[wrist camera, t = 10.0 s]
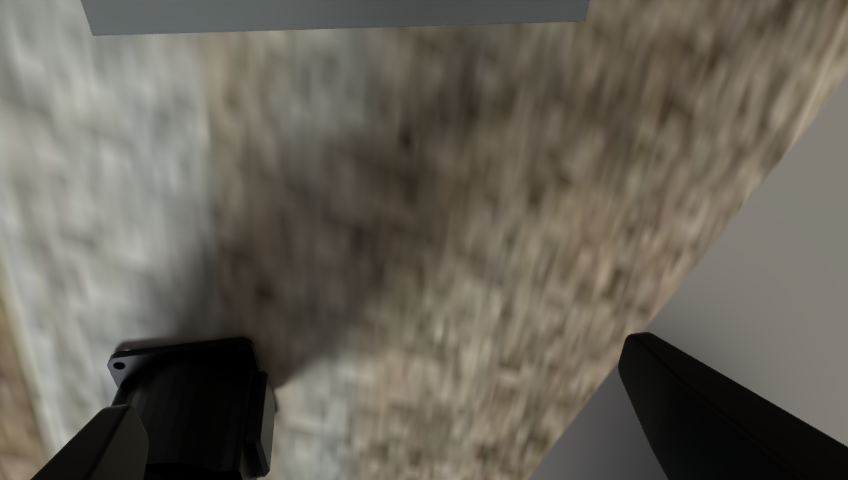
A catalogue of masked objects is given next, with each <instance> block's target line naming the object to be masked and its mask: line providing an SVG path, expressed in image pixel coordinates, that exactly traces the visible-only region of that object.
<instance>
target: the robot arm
mask: <svg viewBox="0 0 848 480" xmlns="http://www.w3.org/2000/svg"><path fill="white" fill-rule="evenodd" d="M239 347H245V349H241V348H239ZM119 362H122V363H119ZM107 365H108V369H109V371H110V373H111V375H112V377H113V379H114V381H115V383H116V385H117V387H118V391H117V393H116V395H115V398H114V400H113V402H112V405H111V406H110V407H106V408H104V409H102V410H101V411H100V412H99V413H98V414H97V415H95V416H94V417H93V418H92V419H91V420H90V421H89V422H88V423H87V424H86V425H85V426H84V427H83V428H82V429H81V430H80V431H79V432H78V433H77V434H76V435H75V436H74V437H73V438H72V439H71V440H70V441H69V442H68V443H67V444H66V445H65V446H64V447H63V448H62V449H61V450H60V451H59V452H58V453H57V454H56V455H55V456H54V457H53V458H52V459H51V460H50V461H49V462H48V463H47V464H46V465H45V466H44V467H43V468H42V469H41V470H40V471H39V472H38V473H37V474H36V475H35V476H34V477H33V478H32V479H31V480H257V478H259V477H265V476H266V475H267V474H268V472H269V471H270V463H271V452H272V440H273V429H274V417H275V401H274V397H273V393H272V389H271V384H270V380H269V376H268V374H267V373H266V372H265V371H260V367H259V363H258V359H257V355H256V351H255V347H254V343H253V341H252V340H250V339H249V338H246V337H240V338H231V339H223V340H215V341H206V342H198V343H189V344H181V345H173V346H164V347H156V348H147V349H139V350H131V351H122V352H117V353H114V354H112V355H111V357H110V360H109V362H108V364H107ZM618 369H619V374H620V378H621V380H622V382H623V385H624V387H625V389H626V392H627V394H628V396H629V399H630V401H631V403H632V405H633V408H634V410H635V412H636V415H637V417H638V420H639V421H640V424H641V426H642V429H643V431H644V433H645V436H646V438H647V440H648V442H649V444H650V446H651V449H652V451H653V452H654V454H655V456H656V458H657V460H658V462H659V464H660V465H661V467H662V469H663V471H664V473H665V474H666V476H667V478H668V480H848V447H847V446H845V445H844V444H842V443H840V442H838V441H837V440H835V439H833V438H832V437H830V436H828V435H826V434H825V433H823V432H821V431H820V430H818V429H816V428H814V427H813V426H811V425H809V424H807V423H806V422H804V421H802V420H801V419H799V418H797V417H795V416H794V415H792V414H790V413H788V412H787V411H785V410H783V409H782V408H780V407H778V406H776V405H775V404H773V403H771V402H769V401H768V400H766V399H764V398H763V397H761V396H759V395H757V394H756V393H754V392H752V391H751V390H749V389H747V388H745V387H744V386H742V385H740V384H738V383H736V382H735V381H733V380H732V379H730V378H728V377H726V376H724V375H723V374H721V373H719V372H718V371H716V370H714V369H713V368H711V367H709V366H707V365H705V364H704V363H702V362H700V361H698V360H697V359H695V358H693V357H692V356H690V355H688V354H686V353H685V352H683V351H681V350H680V349H678V348H676V347H675V346H673V345H671V344H669V343H668V342H666V341H664V340H662V339H661V338H659V337H657V336H656V335H654V334H652V333H649V332H642V333H635V334H630V335H628V336H627V337H626V339H625V342H624V346H623V349H622V353H621V356H620V359H619V363H618Z"/></svg>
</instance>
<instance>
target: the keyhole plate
mask: <svg viewBox="0 0 848 480" xmlns="http://www.w3.org/2000/svg"><path fill="white" fill-rule="evenodd" d="M81 2H82V5H83V8H84V11H85V14H86V17H87V20H88V23H89V26H90V29H91V32H92V35H93V36H101V35H135V34H169V33H203V32H237V31H271V30H305V29H339V28H373V27H407V26H441V25H475V24H509V23H543V22H577V21H586V16H587V10H588V4H589V0H81Z"/></svg>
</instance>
